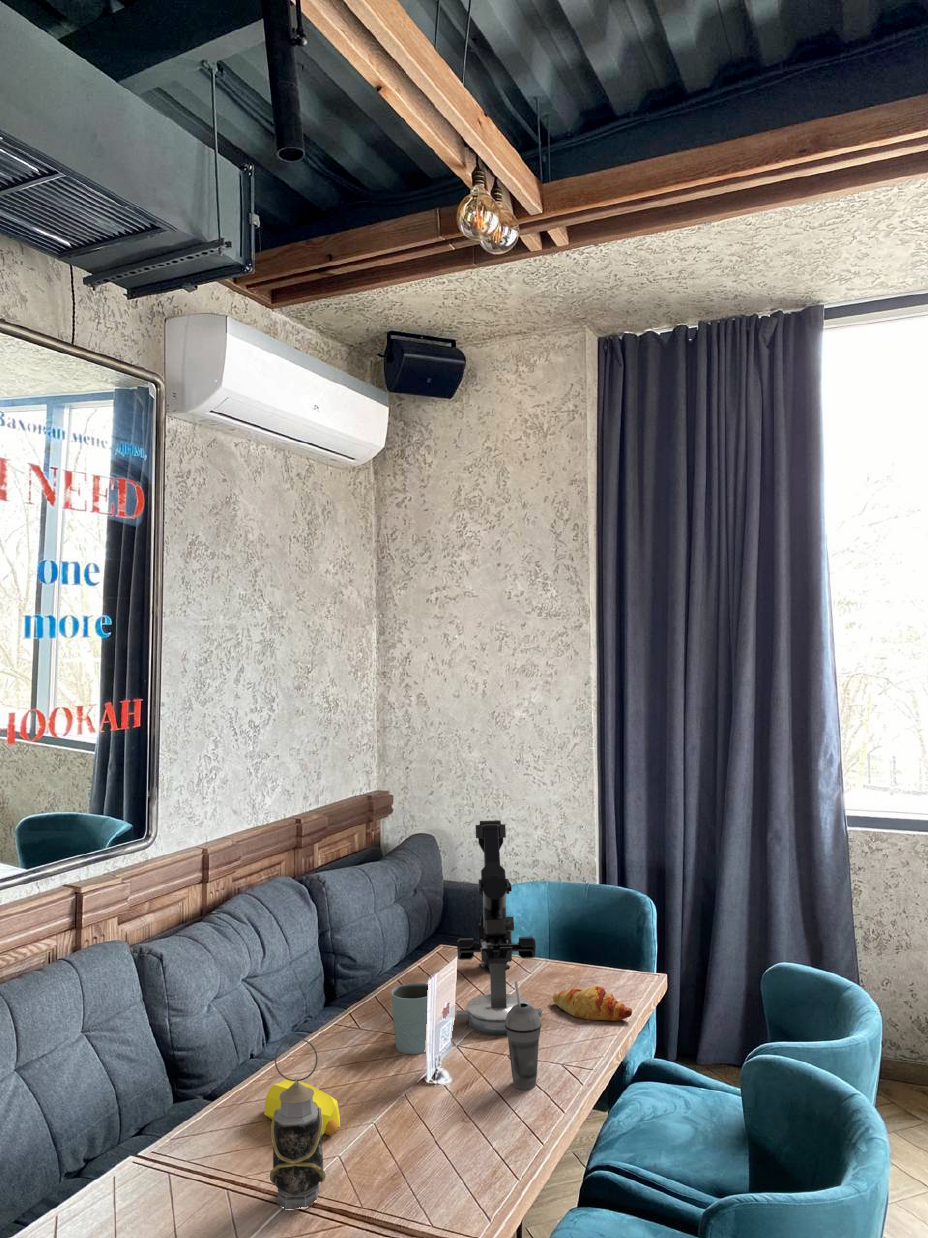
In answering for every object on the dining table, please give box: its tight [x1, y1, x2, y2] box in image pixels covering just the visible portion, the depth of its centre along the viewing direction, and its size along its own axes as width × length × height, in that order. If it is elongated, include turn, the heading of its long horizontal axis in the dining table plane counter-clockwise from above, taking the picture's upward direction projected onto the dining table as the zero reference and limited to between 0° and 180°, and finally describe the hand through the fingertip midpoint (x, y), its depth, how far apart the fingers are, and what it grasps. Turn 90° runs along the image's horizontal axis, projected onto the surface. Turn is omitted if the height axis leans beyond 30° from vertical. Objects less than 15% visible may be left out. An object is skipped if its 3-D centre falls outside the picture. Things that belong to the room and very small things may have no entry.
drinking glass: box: [390, 982, 429, 1055], centre depth 202 cm, size 10×10×12 cm
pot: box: [455, 1008, 543, 1037], centre depth 213 cm, size 14×20×3 cm
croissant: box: [552, 984, 633, 1022], centre depth 218 cm, size 21×10×8 cm, turn 54°
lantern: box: [269, 1037, 326, 1210], centre depth 146 cm, size 9×8×25 cm
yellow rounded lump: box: [263, 1077, 341, 1136], centre depth 170 cm, size 18×7×8 cm
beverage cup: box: [505, 980, 542, 1091], centre depth 183 cm, size 7×7×20 cm
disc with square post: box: [466, 959, 531, 1021], centre depth 214 cm, size 15×15×11 cm
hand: (497, 982), depth 216 cm, fingers closed
